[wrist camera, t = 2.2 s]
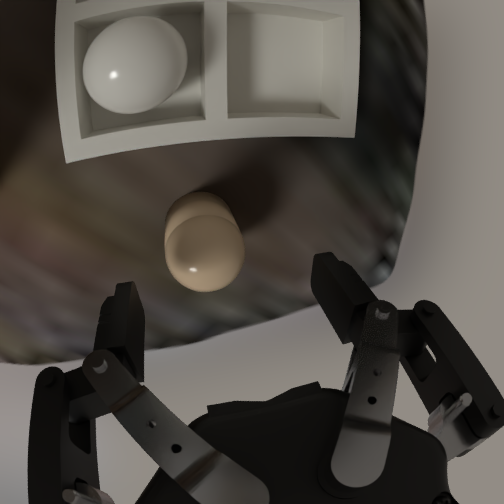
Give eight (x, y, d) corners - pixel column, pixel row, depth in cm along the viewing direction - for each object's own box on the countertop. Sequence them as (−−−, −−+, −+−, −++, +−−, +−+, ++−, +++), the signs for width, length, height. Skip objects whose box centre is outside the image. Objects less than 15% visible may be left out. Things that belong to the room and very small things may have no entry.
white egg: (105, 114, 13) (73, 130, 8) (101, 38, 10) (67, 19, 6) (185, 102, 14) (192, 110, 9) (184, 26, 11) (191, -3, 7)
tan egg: (170, 256, 20) (173, 314, 15) (160, 196, 17) (158, 242, 13) (233, 247, 20) (254, 301, 16) (231, 187, 18) (254, 230, 13)
